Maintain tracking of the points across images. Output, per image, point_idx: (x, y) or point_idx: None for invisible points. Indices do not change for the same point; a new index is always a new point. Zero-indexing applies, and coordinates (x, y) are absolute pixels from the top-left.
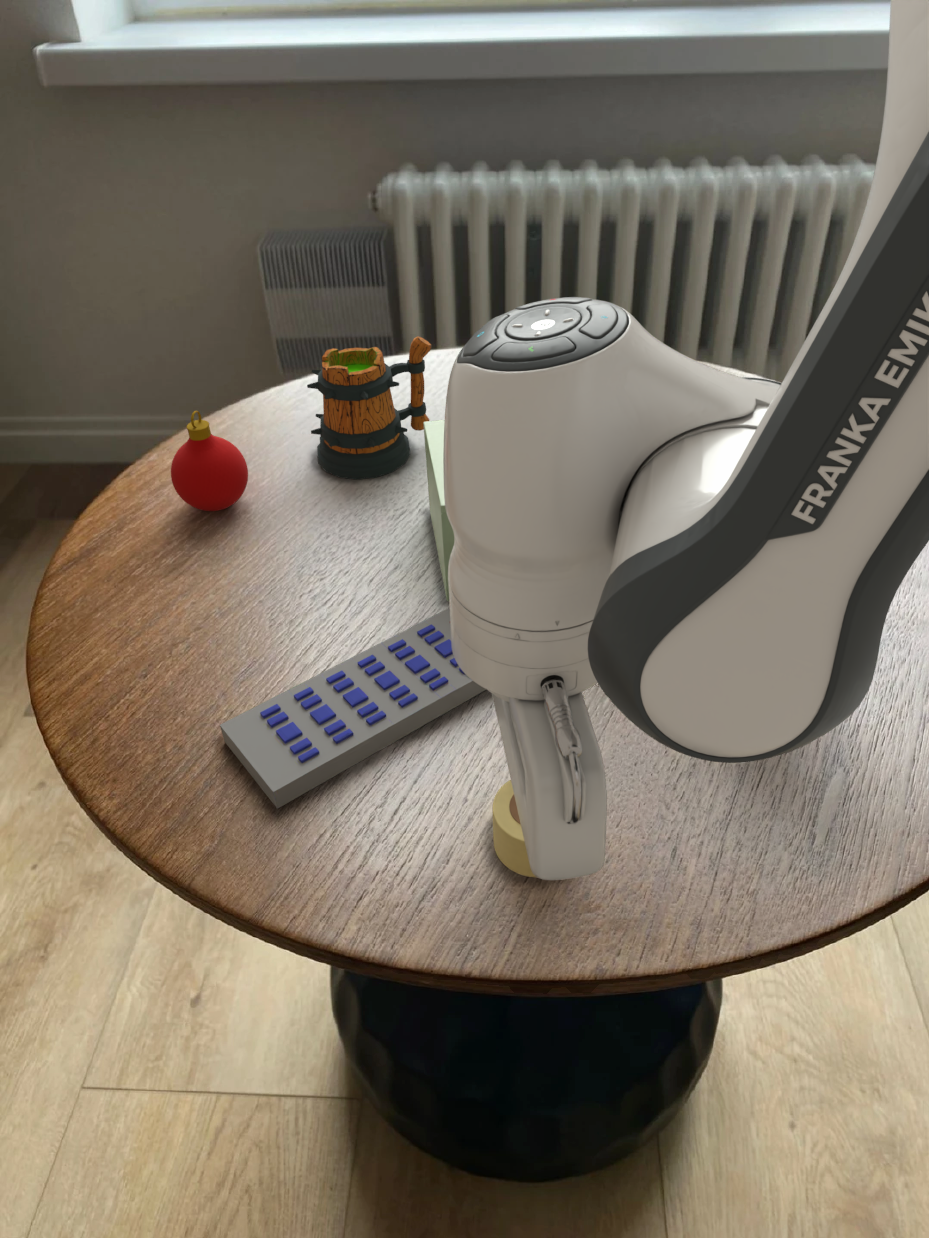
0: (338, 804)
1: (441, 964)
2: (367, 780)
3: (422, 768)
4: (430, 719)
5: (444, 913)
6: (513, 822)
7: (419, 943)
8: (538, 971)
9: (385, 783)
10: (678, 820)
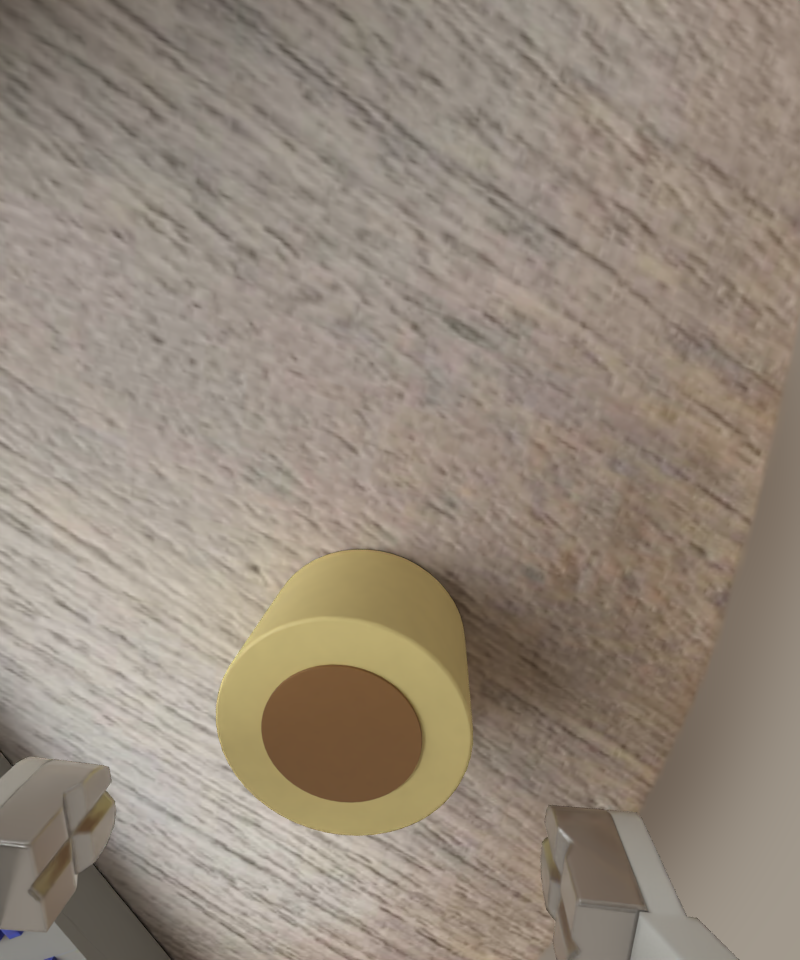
0: (219, 938)
1: None
2: (166, 889)
3: (141, 800)
4: (5, 768)
5: (500, 831)
6: (385, 801)
7: None
8: (682, 711)
9: (176, 864)
10: (362, 280)
